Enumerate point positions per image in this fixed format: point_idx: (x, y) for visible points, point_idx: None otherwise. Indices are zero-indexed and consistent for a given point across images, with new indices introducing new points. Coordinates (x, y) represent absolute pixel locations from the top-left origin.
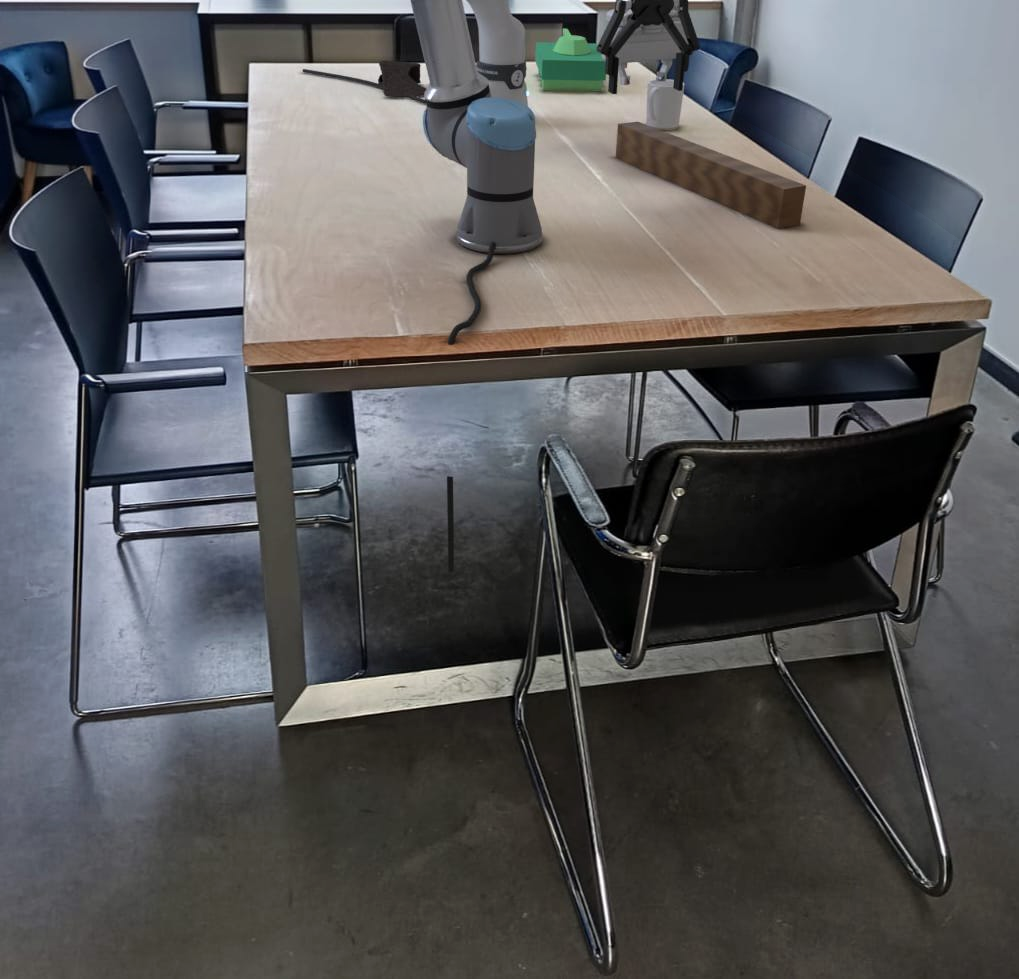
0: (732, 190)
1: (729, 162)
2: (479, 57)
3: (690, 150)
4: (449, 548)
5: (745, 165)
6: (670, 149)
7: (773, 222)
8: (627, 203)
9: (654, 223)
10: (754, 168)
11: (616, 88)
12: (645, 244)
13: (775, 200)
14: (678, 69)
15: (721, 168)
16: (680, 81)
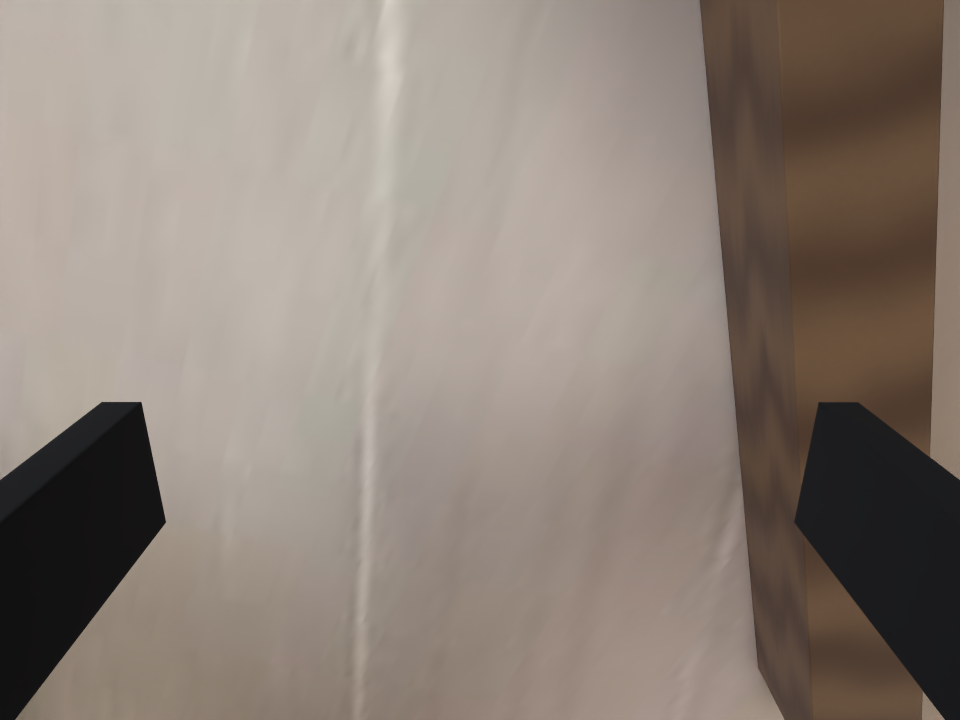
0: (766, 514)
1: None
2: None
3: (811, 223)
4: None
5: None
6: (767, 67)
7: (760, 660)
8: (396, 355)
9: (412, 562)
10: None
11: (133, 554)
12: (320, 700)
13: (791, 712)
14: (922, 617)
15: (792, 480)
16: (847, 579)
